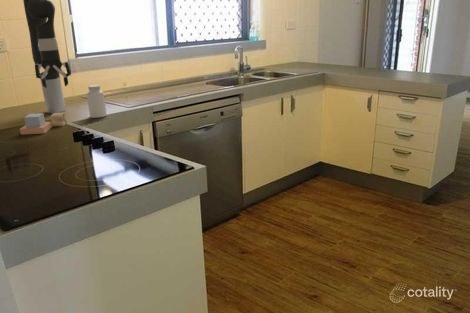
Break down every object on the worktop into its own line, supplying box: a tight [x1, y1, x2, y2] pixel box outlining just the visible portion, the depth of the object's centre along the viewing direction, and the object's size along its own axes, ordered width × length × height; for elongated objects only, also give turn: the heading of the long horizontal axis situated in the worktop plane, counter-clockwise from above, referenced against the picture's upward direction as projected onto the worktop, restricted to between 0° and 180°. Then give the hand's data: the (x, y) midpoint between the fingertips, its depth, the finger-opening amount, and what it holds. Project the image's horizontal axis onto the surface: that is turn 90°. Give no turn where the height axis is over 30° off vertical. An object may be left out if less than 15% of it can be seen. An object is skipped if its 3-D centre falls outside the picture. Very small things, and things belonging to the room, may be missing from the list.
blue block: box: [23, 112, 46, 127], centre depth 183 cm, size 6×6×4 cm
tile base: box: [19, 121, 53, 135], centre depth 184 cm, size 10×10×2 cm
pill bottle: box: [86, 84, 107, 119], centre depth 203 cm, size 8×8×15 cm
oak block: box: [50, 112, 68, 127], centre depth 192 cm, size 5×5×5 cm
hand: (56, 86), depth 186 cm, fingers open, 8 cm apart
